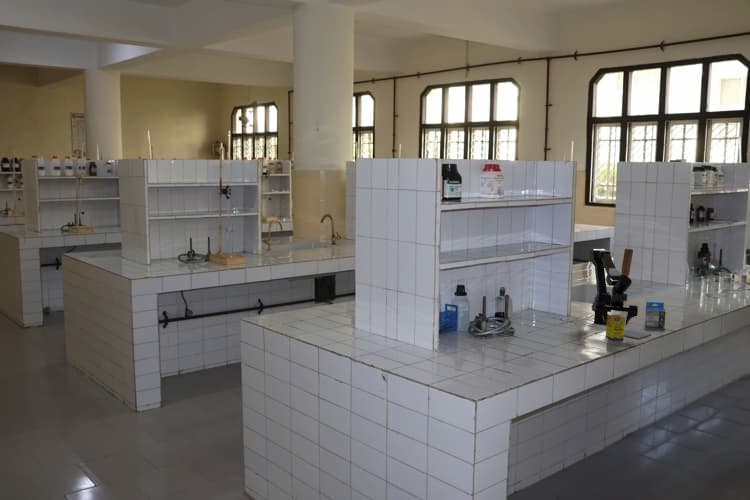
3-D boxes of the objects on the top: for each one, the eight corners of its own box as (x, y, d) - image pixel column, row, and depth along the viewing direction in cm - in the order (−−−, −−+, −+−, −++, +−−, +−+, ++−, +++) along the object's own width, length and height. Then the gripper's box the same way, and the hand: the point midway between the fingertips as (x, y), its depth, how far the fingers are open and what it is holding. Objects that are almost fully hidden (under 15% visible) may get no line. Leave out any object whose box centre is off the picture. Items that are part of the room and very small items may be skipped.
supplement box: (612, 340, 314) (614, 317, 313) (605, 337, 320) (606, 314, 319) (623, 339, 316) (625, 317, 314) (616, 336, 322) (617, 314, 320)
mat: (638, 339, 317) (638, 338, 317) (615, 334, 326) (615, 333, 326) (650, 335, 325) (650, 334, 325) (627, 330, 334) (627, 329, 333)
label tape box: (646, 327, 341) (648, 303, 340) (644, 325, 345) (646, 301, 344) (664, 327, 340) (666, 304, 338) (662, 326, 344) (664, 302, 342)
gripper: (597, 285, 322) (594, 312, 314) (639, 288, 316) (637, 316, 307) (597, 298, 331) (594, 325, 322) (638, 302, 324) (636, 329, 315)
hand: (615, 324), depth 316 cm, fingers open, 9 cm apart
